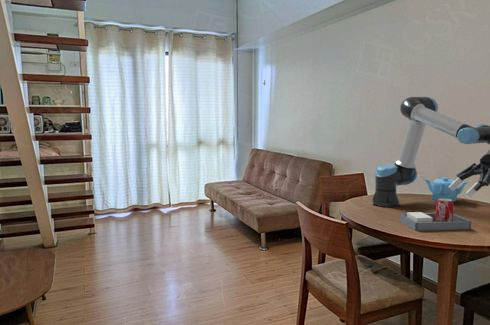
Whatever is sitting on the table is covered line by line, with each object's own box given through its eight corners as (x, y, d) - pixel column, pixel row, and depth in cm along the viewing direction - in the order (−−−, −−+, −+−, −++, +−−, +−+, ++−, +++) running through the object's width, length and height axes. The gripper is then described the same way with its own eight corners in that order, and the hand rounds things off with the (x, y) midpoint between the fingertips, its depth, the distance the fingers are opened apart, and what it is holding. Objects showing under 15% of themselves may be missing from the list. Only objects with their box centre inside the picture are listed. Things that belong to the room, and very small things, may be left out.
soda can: (455, 226, 163) (456, 201, 161) (438, 226, 164) (439, 200, 163) (449, 222, 170) (450, 197, 168) (433, 222, 171) (434, 197, 170)
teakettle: (446, 197, 227) (447, 174, 225) (470, 203, 209) (471, 179, 207) (420, 199, 224) (421, 176, 222) (441, 206, 205) (442, 181, 204)
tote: (415, 232, 159) (415, 223, 158) (399, 223, 174) (400, 214, 174) (470, 231, 159) (471, 221, 159) (450, 221, 175) (450, 212, 174)
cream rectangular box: (416, 228, 161) (417, 218, 161) (406, 222, 171) (406, 212, 171) (432, 228, 162) (432, 217, 161) (421, 222, 172) (421, 212, 171)
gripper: (519, 168, 151) (482, 203, 153) (480, 161, 176) (449, 191, 178) (507, 156, 151) (471, 191, 152) (470, 151, 175) (438, 181, 177)
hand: (459, 191), depth 165 cm, fingers open, 13 cm apart
